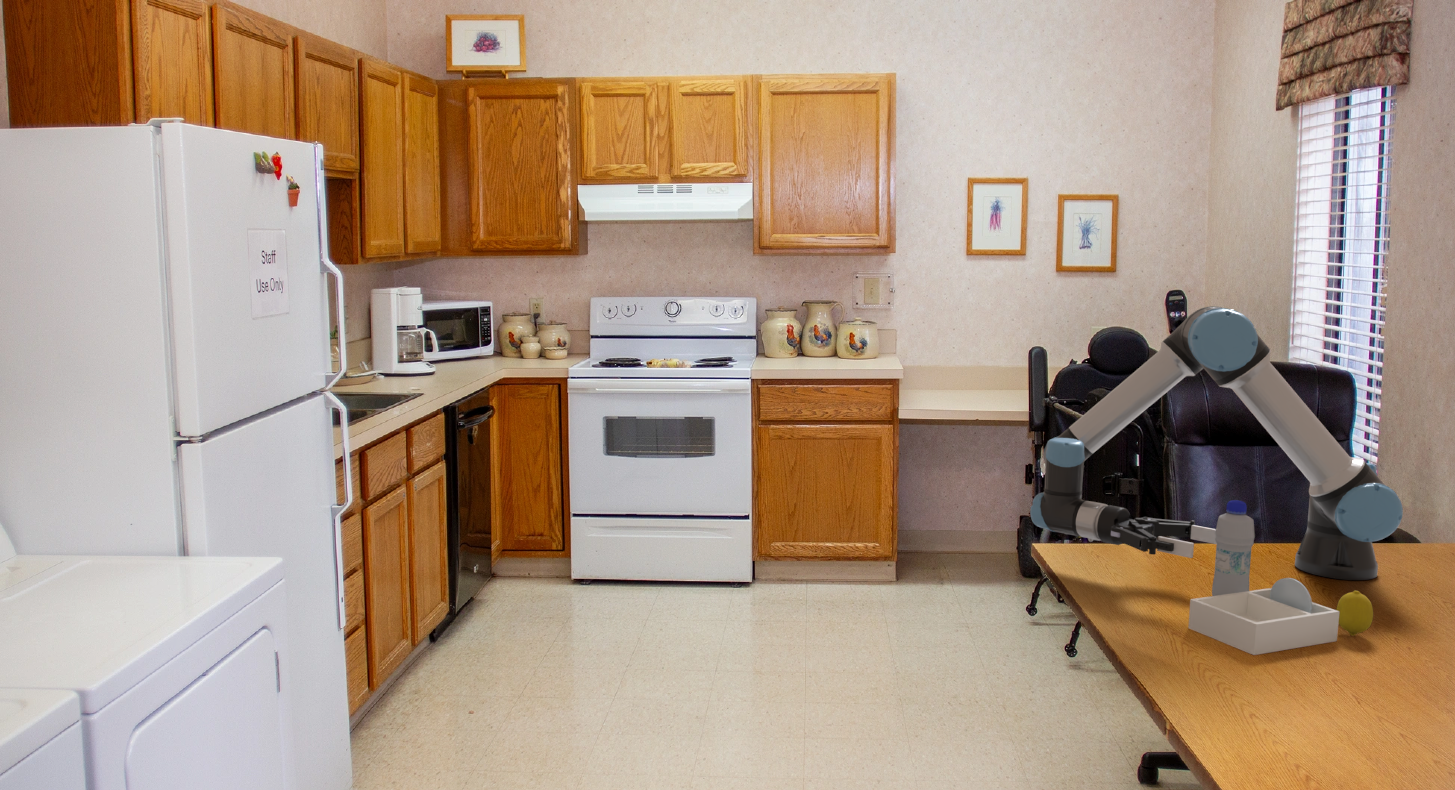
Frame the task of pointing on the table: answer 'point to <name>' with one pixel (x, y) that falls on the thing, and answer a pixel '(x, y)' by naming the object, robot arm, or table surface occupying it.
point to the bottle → (1233, 550)
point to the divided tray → (1265, 618)
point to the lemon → (1355, 612)
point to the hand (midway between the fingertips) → (1209, 544)
